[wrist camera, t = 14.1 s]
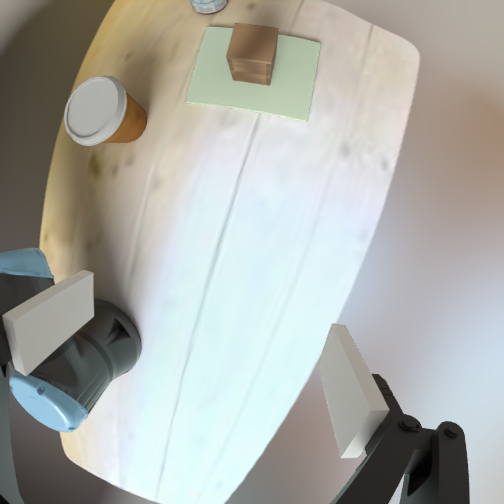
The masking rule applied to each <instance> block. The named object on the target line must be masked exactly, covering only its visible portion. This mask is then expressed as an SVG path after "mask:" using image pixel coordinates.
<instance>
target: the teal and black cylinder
mask: <svg viewBox="0 0 504 504" xmlns="http://www.w3.org/2000/svg"><path fill="white" fill-rule="evenodd" d="M190 1H191V4H192V6H193V8H194V10H195V11H197V12H198V13H201V14H214V13H217V12H219V11H221V10H222V9H223V8H224V7H225V6H226V4H227V0H190Z"/></svg>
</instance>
